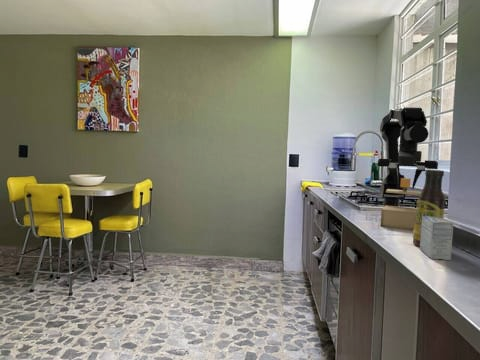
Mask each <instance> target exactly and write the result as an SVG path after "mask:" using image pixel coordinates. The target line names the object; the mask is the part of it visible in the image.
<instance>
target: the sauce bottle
mask: <svg viewBox="0 0 480 360" xmlns="http://www.w3.org/2000/svg"><path fill="white" fill-rule="evenodd" d="M425 169H426V171H424V172H425V173H424V174H425V179H424V180H425V181H424V186H423V188H422V190H421V191H420V192H421V194H420V195H419V197H418V199H417V201H416V216H415V224H414V230H413V234H412V243H413V245H414V246H417V247H420V237H421V224H422V217H423V216H434V217H441V218H444V215H445V203H446V197H445V194H444V193H443V190H442V189H443V188H442V187H443V186H442V185H443V184H442V183H443V177H444V174H445V170H440V169H427V168H425Z"/></svg>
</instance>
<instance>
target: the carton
mask: <svg viewBox="0 0 480 360" xmlns="http://www.w3.org/2000/svg"><path fill="white" fill-rule="evenodd" d="M416 208H417V207H416ZM416 208H415V207H408V206H406V207H404V206H399V207H397V206H386V205H385V206H384V207H383V206H382V208H381V212H380V227H384V228H385V227H386V228H393V229H401V230H409V231H414V224H415V216H416Z"/></svg>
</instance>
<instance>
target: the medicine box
mask: <svg viewBox="0 0 480 360" xmlns="http://www.w3.org/2000/svg"><path fill="white" fill-rule="evenodd" d="M453 236H454V222H451V221H450V220H448V219H446V218H444V217H443V218H441V217H434V216H423V217H422V224H421V237H420V246H419V250H420V251H421V252H422V253H424V255H426V256H427V257H428V258H429V257H430V258H429V259H432V260H438V259H443V260H442V261H449V260H450V261H451V260H452V250H453V249H452V247H453Z"/></svg>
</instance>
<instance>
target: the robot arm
mask: <svg viewBox="0 0 480 360" xmlns="http://www.w3.org/2000/svg"><path fill="white" fill-rule="evenodd" d="M427 123H428V120H427V117H426V115H425V112H424V110H423V109H422V107H410V106H409V107H406V106H405V107H403V106H402V107H401V108H391V109H389V112H388V114H387V115H385V116H384V117H383V118H382V119H381V122H380V126H379V132H380V133H381V138H382V140H384V142H385V147H386V148H385V150H386V158H379V159H378V160H377V167H383V168H384V167H385V168H386V176H385V178H384V179H383V181H382V184H381V186H380V190H379V198H380V199H383V205H382V208H383V207H384V206H385V205H386V206H397V207H400V200H405V199H406V195H407V194H400V193H388V192H386V190H387V189H394V190H403V187H400V184H401V178H406V177H405V175H404V174H401V172H400V167H414V168H415V167H416V168H415V173H414V178H413V180H412V188H411V189H412V190H414V189H415V186H416V184H417V182H418V180H419V177H420V176H421V174H422V172H426V169H431V170H439V169H438V166H439V162H438V161H437V160H426V159H424V161H422V153H423V152H422V150H418V147H419V146H418V144H420V143H424V142H425V141H427V139H428V137H429V130H428V129H427Z"/></svg>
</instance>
